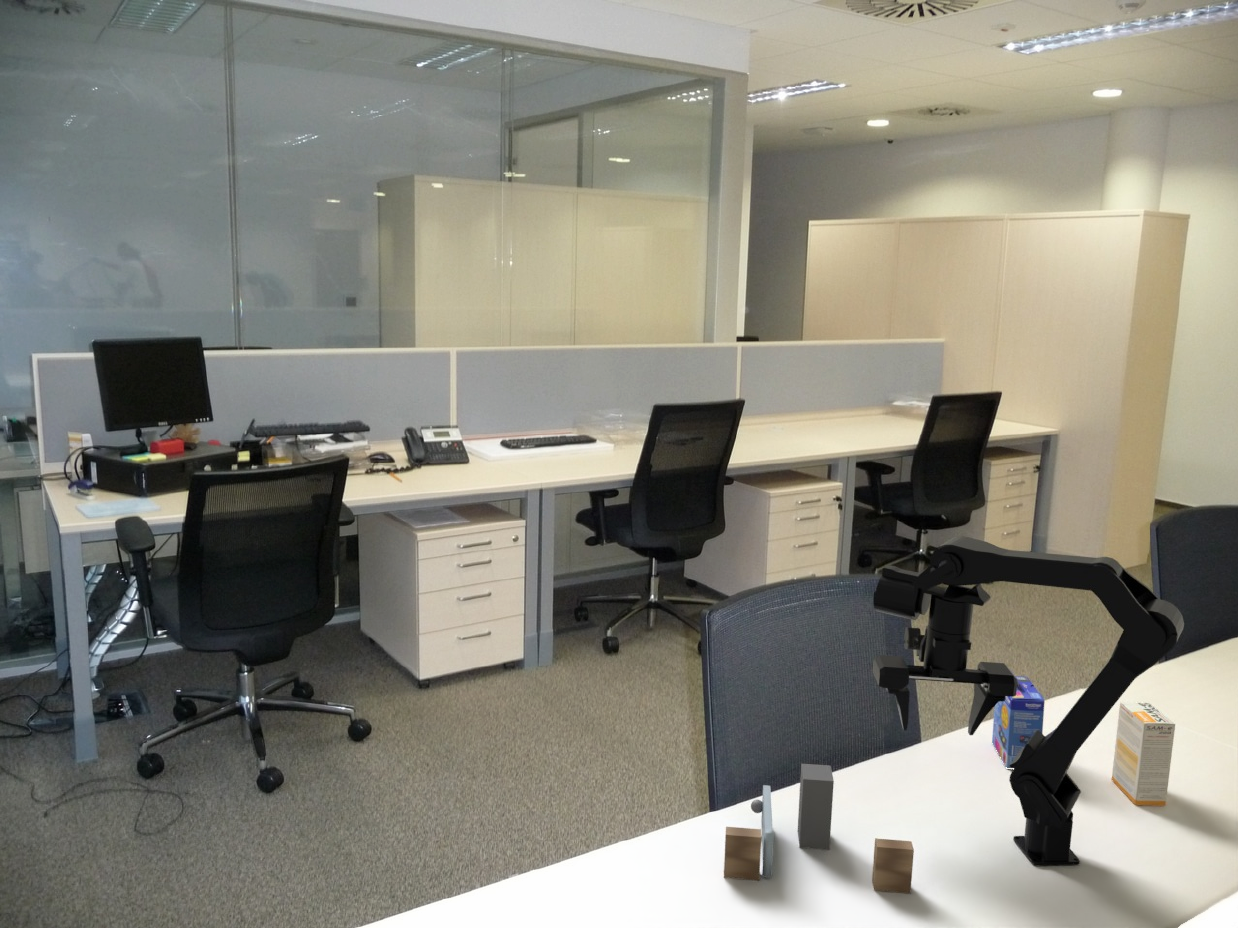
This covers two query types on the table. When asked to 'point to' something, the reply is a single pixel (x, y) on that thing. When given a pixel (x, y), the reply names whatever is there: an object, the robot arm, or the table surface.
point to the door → (765, 829)
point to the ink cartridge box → (1017, 720)
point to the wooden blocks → (887, 866)
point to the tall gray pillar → (815, 806)
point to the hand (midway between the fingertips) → (937, 731)
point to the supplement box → (1143, 753)
